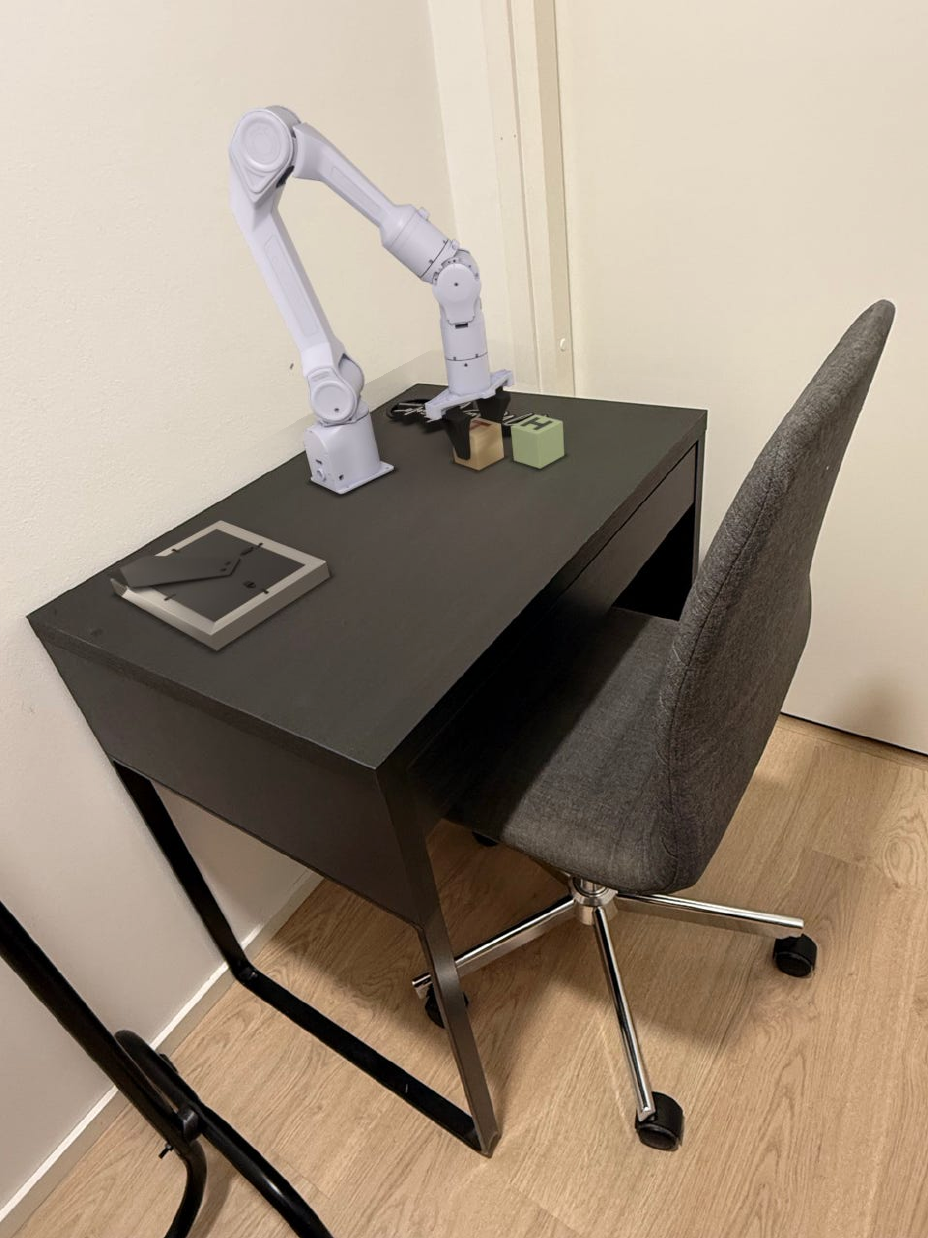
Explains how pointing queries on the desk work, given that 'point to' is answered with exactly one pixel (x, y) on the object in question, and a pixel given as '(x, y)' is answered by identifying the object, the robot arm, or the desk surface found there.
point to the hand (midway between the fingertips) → (478, 450)
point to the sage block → (537, 441)
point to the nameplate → (418, 413)
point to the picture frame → (219, 582)
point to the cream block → (483, 444)
